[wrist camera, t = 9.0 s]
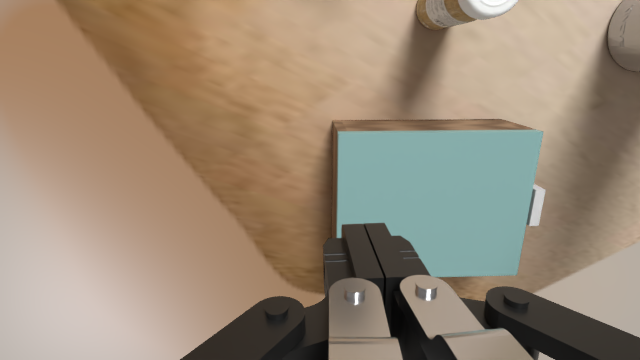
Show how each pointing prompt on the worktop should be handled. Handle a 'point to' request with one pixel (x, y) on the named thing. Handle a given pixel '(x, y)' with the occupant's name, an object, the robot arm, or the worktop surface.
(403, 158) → the lid
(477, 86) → the worktop surface
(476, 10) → the sprinkles bottle
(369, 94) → the worktop surface
